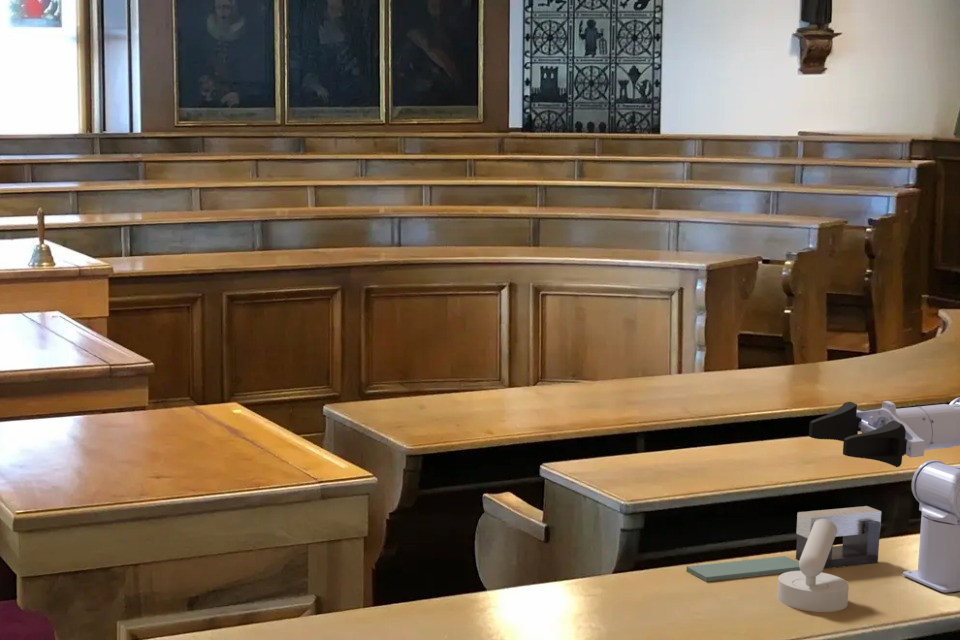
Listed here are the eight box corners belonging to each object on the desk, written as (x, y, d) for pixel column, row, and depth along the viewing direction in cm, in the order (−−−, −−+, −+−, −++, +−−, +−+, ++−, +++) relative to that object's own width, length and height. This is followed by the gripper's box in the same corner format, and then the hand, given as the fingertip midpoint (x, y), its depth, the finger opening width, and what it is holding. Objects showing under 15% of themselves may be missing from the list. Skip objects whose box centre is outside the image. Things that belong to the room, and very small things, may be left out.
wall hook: (860, 521, 163) (844, 540, 154) (856, 594, 164) (839, 616, 155) (793, 512, 167) (773, 529, 158) (789, 582, 168) (769, 604, 159)
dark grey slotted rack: (853, 552, 183) (855, 512, 182) (877, 562, 178) (880, 522, 177) (795, 558, 179) (798, 518, 178) (819, 569, 174) (821, 528, 174)
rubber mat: (784, 560, 178) (785, 556, 178) (806, 570, 174) (806, 566, 174) (686, 570, 172) (686, 566, 172) (706, 581, 167) (706, 577, 167)
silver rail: (865, 526, 182) (867, 506, 181) (879, 532, 179) (881, 511, 179) (796, 533, 177) (797, 512, 177) (809, 539, 174) (811, 517, 174)
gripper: (886, 385, 172) (798, 393, 168) (957, 414, 158) (863, 423, 154) (882, 435, 173) (795, 444, 169) (952, 468, 160) (859, 479, 156)
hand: (827, 438), depth 162 cm, fingers open, 7 cm apart
